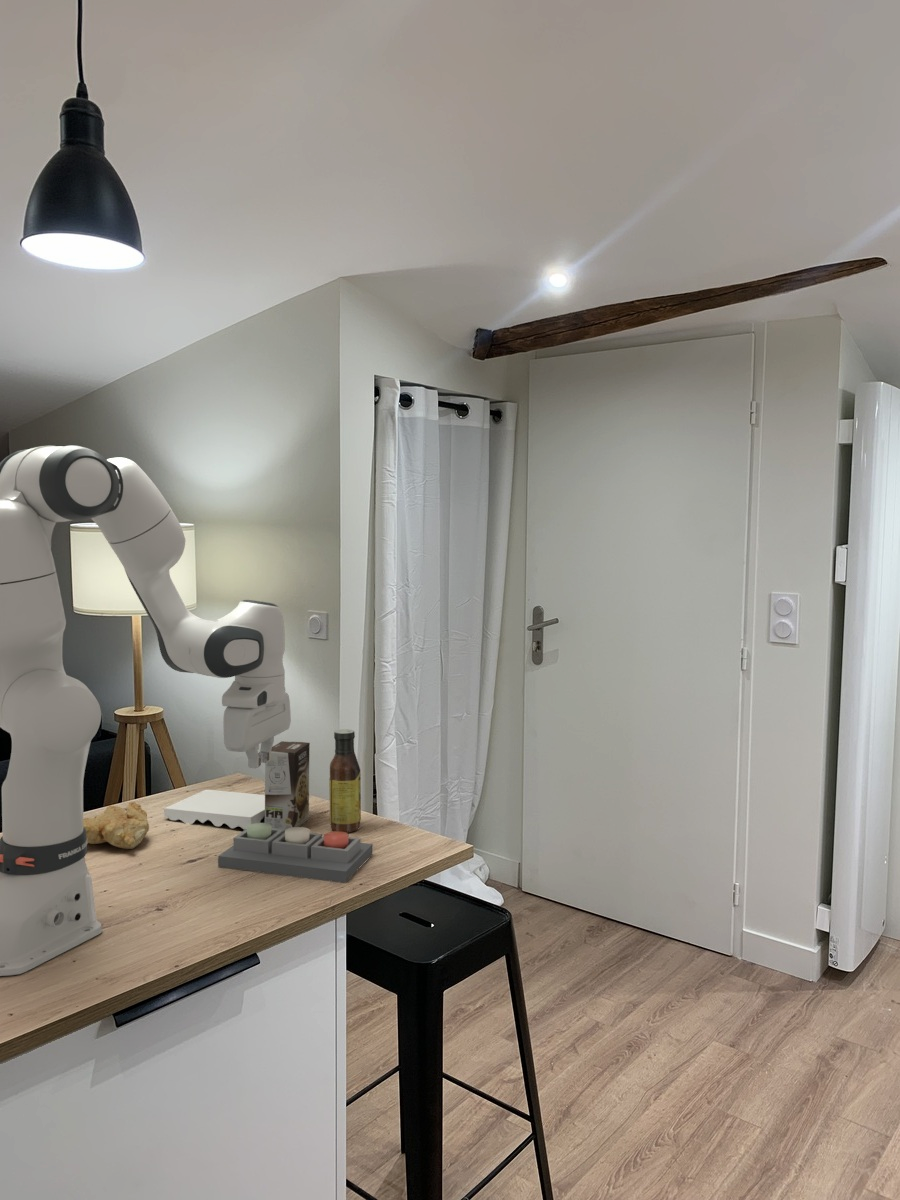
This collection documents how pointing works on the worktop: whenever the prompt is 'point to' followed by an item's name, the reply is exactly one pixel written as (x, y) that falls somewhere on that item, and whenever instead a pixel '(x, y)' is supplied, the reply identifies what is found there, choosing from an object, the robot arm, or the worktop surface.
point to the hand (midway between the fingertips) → (259, 764)
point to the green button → (259, 831)
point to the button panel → (296, 856)
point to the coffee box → (287, 785)
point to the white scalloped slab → (219, 808)
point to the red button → (336, 839)
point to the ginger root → (118, 826)
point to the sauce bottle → (345, 784)
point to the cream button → (297, 835)
